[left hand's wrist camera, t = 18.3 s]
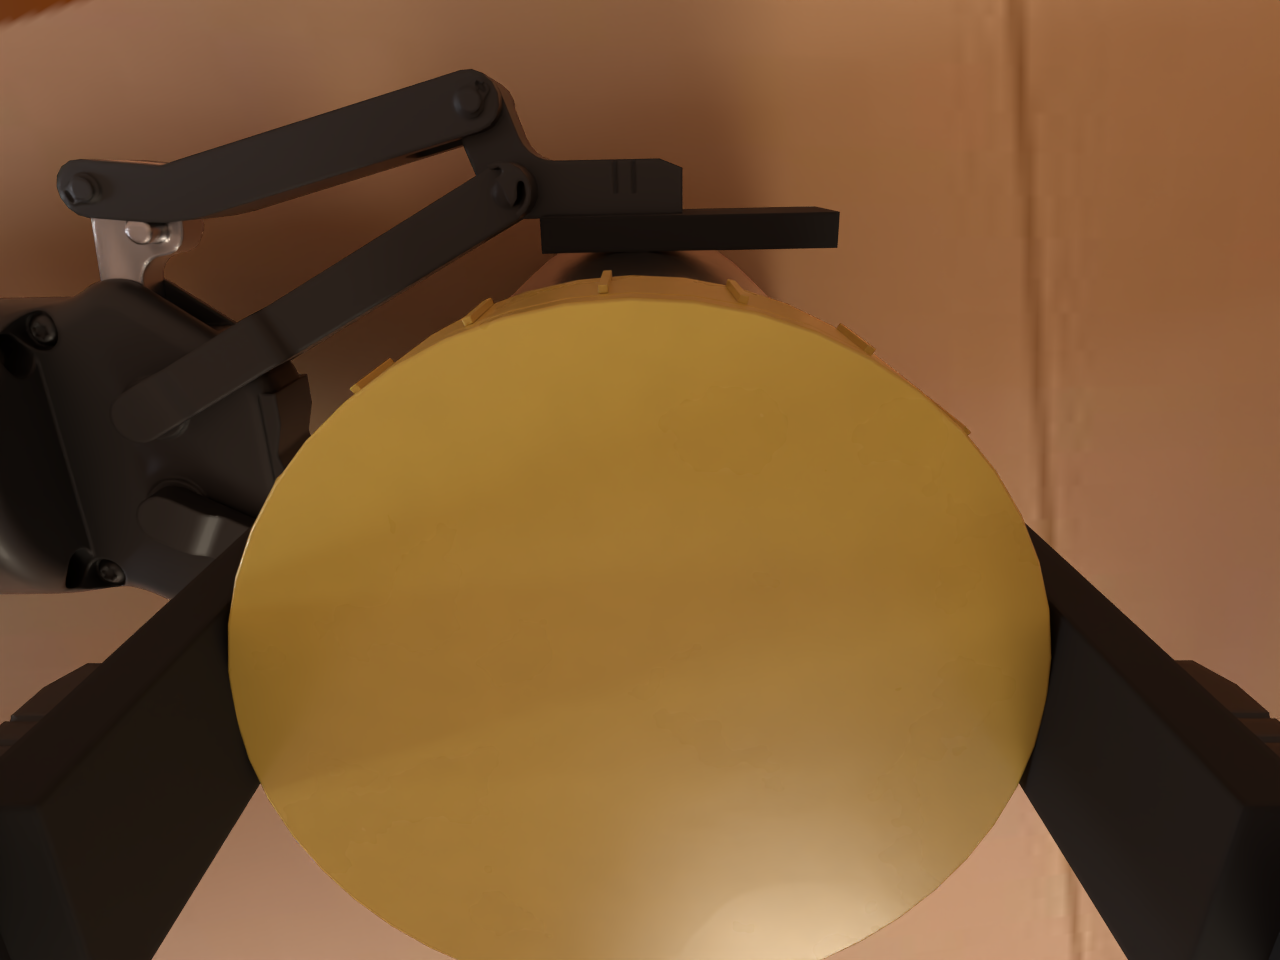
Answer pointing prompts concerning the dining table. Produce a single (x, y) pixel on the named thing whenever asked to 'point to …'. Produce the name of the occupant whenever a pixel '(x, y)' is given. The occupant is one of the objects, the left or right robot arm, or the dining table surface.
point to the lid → (639, 633)
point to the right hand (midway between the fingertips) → (812, 432)
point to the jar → (640, 268)
